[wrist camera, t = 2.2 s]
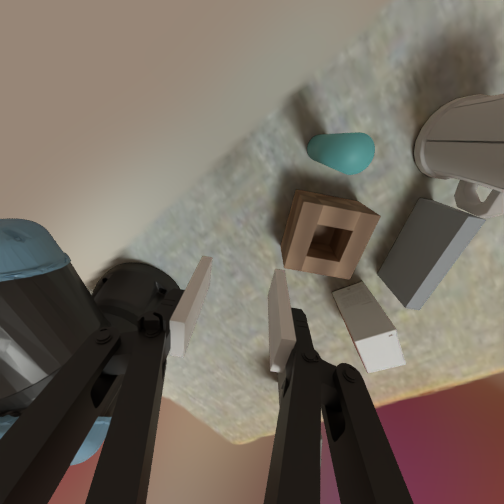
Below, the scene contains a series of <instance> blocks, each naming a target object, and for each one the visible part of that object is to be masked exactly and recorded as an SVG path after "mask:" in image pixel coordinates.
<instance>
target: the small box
mask: <svg viewBox="0 0 504 504" xmlns="http://www.w3.org/2000/svg"><path fill="white" fill-rule="evenodd" d="M332 294H333V296H334V299H335V301H336V303H337V306H338V308H339V310H340V313H341V315H342V317H343V320H344V322H345V324H346V327H347V329H348V331H349V334H350V336H351V338H352V341H353V343H354V345H355V348H356V350H357V352H358V354H359V356H360V358H361V361H362V363H363V365H364V367H365V369H366V371H367V373H371V372H376V371H380V370H384V369H388V368H393V367H397V366H401V365H405V364H406V361H405V359H404V356H403V352H402V349H401V346H400V342H399V338H398V334H397V329H396V328H395V326H394V325H393V323H392V322H391V321H390V319H389V318H388V316H387V315H386V313H385V312H384V310H383V309H382V308H381V306H380V305H379V303H378V302H377V300H376V299H375V298H374V296H373V295H372V293H371V292H370V291H369V289H368V288H367V286H366V285H365V284H364V282H360V283H357V284H354V285H351V286H348V287H346V288H343V289H340V290H337V291H334V292H332Z"/></svg>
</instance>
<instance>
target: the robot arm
mask: <svg viewBox="0 0 504 504" xmlns="http://www.w3.org/2000/svg"><path fill="white" fill-rule="evenodd" d="M70 261H71V260H70V258H69V256H68V255H67V254H66V253H64V252H63V251H62V250H61V249H60V247H59V246H58V244H57V243H56V241H55V240H54V239H53V237H52V236H51V235H50V234H49V232H48V231H47V230H46V229H45V228H44V227H43V226H41V225H40V224H38V223H36V222H33V221H29V220H24V219H0V504H47V503H48V502H49V500H50V499H51V497H52V495H53V493H54V492H55V490H56V488H57V486H58V485H59V483H60V481H61V480H62V478H63V476H64V474H65V473H66V471H67V469H68V468H69V466H70V465H75V464H79V463H81V462H84V461H85V460H87V459H88V458H90V457H91V456H92V455H94V454H95V453H96V452H97V450H98V449H99V448H100V446H101V444H102V443H103V441H104V439H105V441H104V444H103V448H102V451H101V454H100V457H99V461H98V464H97V467H96V470H95V473H94V477H93V480H92V483H91V487H90V490H89V493H88V496H87V499H86V503H85V504H146V499H147V492H148V485H149V479H150V472H151V465H152V458H153V452H154V445H155V438H156V430H157V424H158V417H159V411H160V404H161V397H162V390H163V384H164V377H165V370H166V363H167V360H166V358H167V355H168V353H169V351H170V356H176V357H183V358H184V355H185V352H186V350H187V347H188V344H189V341H190V338H191V336H192V333H193V330H194V327H195V325H196V322H197V319H198V316H199V314H200V311H201V308H202V305H203V302H204V300H205V297H206V294H207V291H208V289H209V286H210V277H211V267H212V257H206V256H202V258H201V260H200V262H199V264H198V266H197V268H196V270H195V272H194V274H193V276H192V278H191V280H190V282H189V284H188V286H187V287H186V289H185V290H181V289H179V287H178V286H177V284H176V283H175V282H174V281H173V280H172V279H171V278H170V277H169V276H168V275H166V274H165V273H163V272H162V271H160V270H158V269H156V268H154V267H151V266H148V265H145V264H139V263H125V264H121V265H118V266H116V267H114V268H112V269H111V270H110V271H108V272H107V273H106V274H105V275H104V276H103V277H102V278H101V279H100V280H99V281H98V283H97V285H96V287H95V289H94V291H93V293H92V295H91V294H90V292H89V291H88V289H87V288H86V286H85V285H84V283H83V281H82V280H81V278H80V277H79V275H78V274H77V272H76V270H75V269H74V267H73V266H72V264H71V263H70ZM268 318H269V351H270V371H273V372H279V373H283V372H284V370H285V367H286V378H285V380H284V382H283V385H282V387H281V389H283V391H282V397H281V403H280V409H279V415H278V421H277V427H276V433H275V439H274V445H273V451H272V457H271V463H270V469H269V475H268V481H267V487H266V493H265V499H264V504H320V449H321V410H322V415H323V419H324V424H325V429H326V434H327V439H328V443H329V448H330V453H331V458H332V463H333V467H334V473H335V477H336V482H337V487H338V492H339V497H340V502H341V504H413V501H412V498H411V496H410V494H409V491H408V489H407V486H406V484H405V481H404V479H403V476H402V474H401V471H400V469H399V467H398V464H397V462H396V459H395V457H394V454H393V452H392V449H391V447H390V444H389V442H388V439H387V437H386V435H385V432H384V429H383V427H382V425H381V422H380V420H379V417H378V415H377V412H376V410H375V407H374V405H373V402H372V400H371V397H370V395H369V392H368V390H367V388H366V385H365V383H364V380H363V378H362V376H361V374H360V372H359V371H358V370H357V369H356V368H354V367H353V366H351V365H349V364H346V363H341V364H339V365H338V366H337V367H336V366H334V365H332V364H330V363H328V362H326V361H324V360H322V359H321V358H320V356H319V354H318V352H317V351H315V350H314V348H313V343H312V339H311V335H310V331H309V327H308V323H307V318H306V315H305V314H304V312H303V311H302V309H296V308H291V306H290V299H289V293H288V287H287V281H286V275H285V270H280V269H275V271H274V275H273V278H272V282H271V286H270V289H269V293H268ZM105 437H106V438H105Z"/></svg>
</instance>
